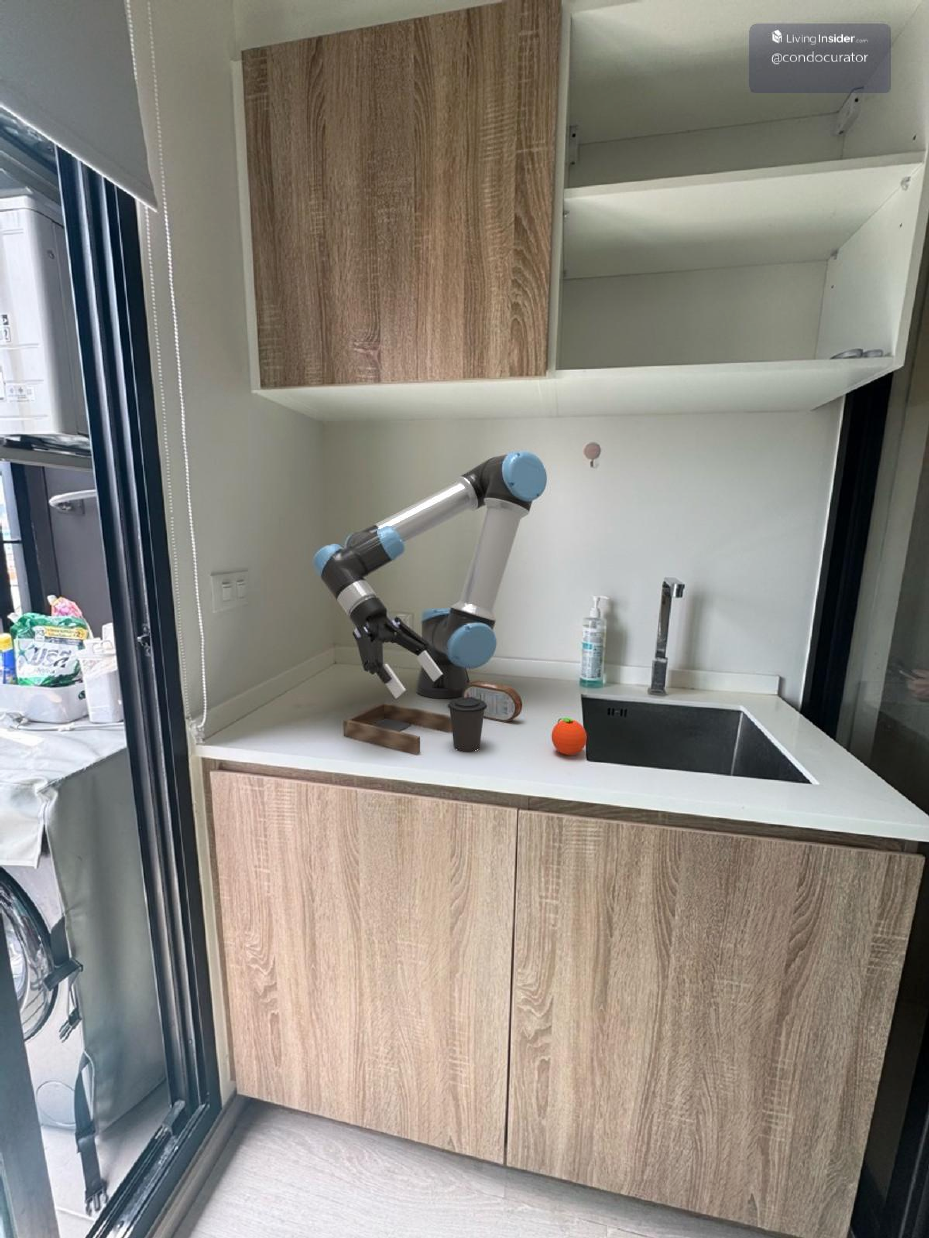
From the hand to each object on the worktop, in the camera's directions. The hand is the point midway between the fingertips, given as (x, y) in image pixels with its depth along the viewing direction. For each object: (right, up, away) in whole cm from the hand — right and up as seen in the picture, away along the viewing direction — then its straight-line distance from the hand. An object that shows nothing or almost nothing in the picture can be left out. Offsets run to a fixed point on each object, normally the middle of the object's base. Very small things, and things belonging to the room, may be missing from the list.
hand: (420, 685), depth 108 cm
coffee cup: (+10, -13, 0) cm, 16 cm away
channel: (-5, -11, +6) cm, 14 cm away
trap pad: (-9, -11, +8) cm, 16 cm away
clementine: (+30, -13, -2) cm, 33 cm away
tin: (+15, -10, +17) cm, 25 cm away
